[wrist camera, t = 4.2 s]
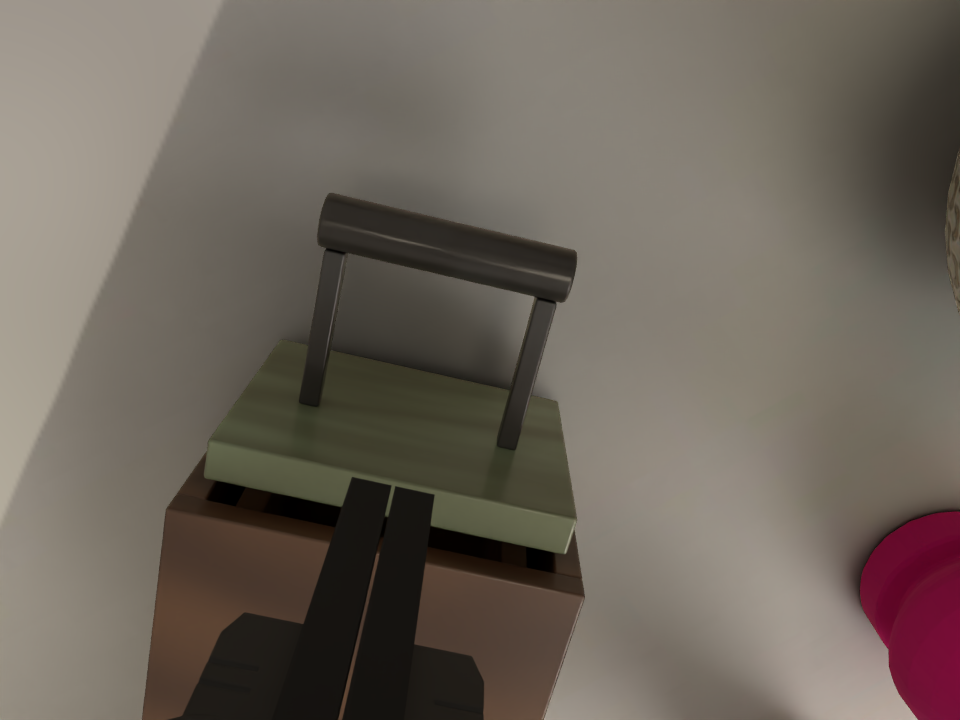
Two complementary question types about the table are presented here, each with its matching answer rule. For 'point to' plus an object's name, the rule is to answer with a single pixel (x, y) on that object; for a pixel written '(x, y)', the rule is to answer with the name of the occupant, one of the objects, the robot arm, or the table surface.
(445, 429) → the drawer
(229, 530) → the cabinet
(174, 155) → the table surface
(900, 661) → the pepper mill
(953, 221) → the planter
